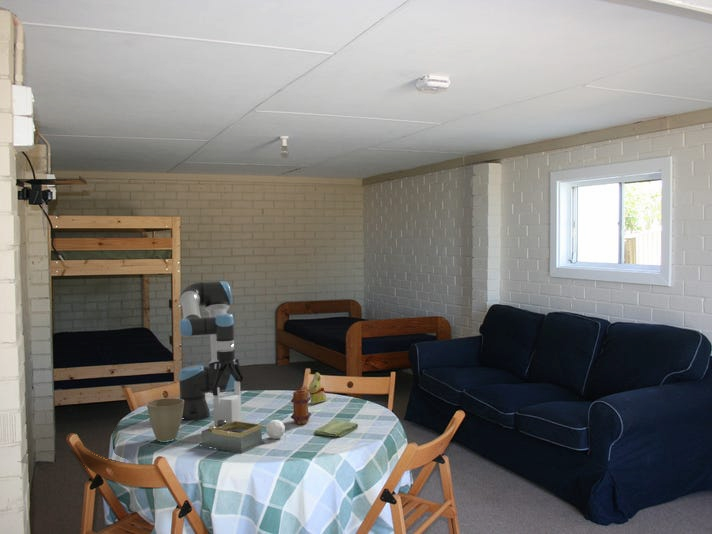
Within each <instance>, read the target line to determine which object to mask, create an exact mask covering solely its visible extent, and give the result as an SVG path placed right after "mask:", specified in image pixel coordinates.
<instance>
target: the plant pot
mask: <svg viewBox="0 0 712 534" xmlns="http://www.w3.org/2000/svg"><path fill="white" fill-rule="evenodd" d="M146 407H147V408H146V409H147V412H148V418H149V421H150V425H151V428H152V431H153V434H154V437H155V440H156V441H157V440H162V441H167V440H172V439H175V438H176V439H177V436H178V433H179V430H180V428H181V427H180V426H181V424H182V423H181V422H182V420H183V419H182V414H183V407H184V400H182V399H180V398H177V397H176V398H174V397H167V398H158V399H153V400H150V401H148V402H146Z"/></svg>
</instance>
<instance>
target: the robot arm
mask: <svg viewBox="0 0 712 534" xmlns="http://www.w3.org/2000/svg"><path fill="white" fill-rule="evenodd" d="M232 296H233V295H232V290H231V287H230V284H229V283H228V282H227V281H220V280H218V281H204V282H203V281H202V282H201V281H200V282H199V281H198V282H194V283H193V282H192V283H191V284H189V285H187V286H186V287H185V288H184V289H182V290H181V293H180V295H179V304H180V306H181V308H182V315H183V317H182V318H181V319H180V320H179V331H180V332H179V333H180V336H182V337H195V336H207V335H208V336H209V338H210V353H211V354H210V355H211V357H210V358H211V361H210V362H209V363H208V367H206V366H205V365H204V364H194V365H189V366H185V367H183V368H181V369H180V370H179V373H178V375H179V377H178V381H179V399H182V400H184V407H183V414H182V418H184V419H194V420H199V418H201V419H205V418H208V417H210V416H211V415H210V414H211V410H210V407H209V405H208V402H207V398H206V393H212V396H213V399H214V403H220V396H221V395H220V394H221V393H220V392H227V391H228V392H229V391H234V395H241V387H242V386H241V384H242V383H241V382H243V380H244V378H245V377H244V374H243V373H244V372H243V370H242V369H241V366H240V361H239V359H238V358H236V351H235V331H234V330H235V325H234V323H235V321H234V314H232V313H228V312H227V311H228V310H229V309H230V305H232V304H233V297H232ZM200 307H204V308H205V309H204V310H205V311H206V312H208V317H202V316H201V312H200V311H201V310H200ZM241 396H242V395H241ZM204 417H205V418H204Z"/></svg>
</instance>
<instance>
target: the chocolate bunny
mask: <svg viewBox="0 0 712 534" xmlns="http://www.w3.org/2000/svg"><path fill="white" fill-rule="evenodd" d="M322 378H323V375H321V374H320V373H319V372H315V373H314V375H313V378H312V380H311V382H310V384H309V385H308V394H309V398H310V404H311V405H315V404H319V403H322V402H326V401H327V396H326V391H325V388H324V387H323V386H322V385H321V381H322Z"/></svg>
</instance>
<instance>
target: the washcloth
mask: <svg viewBox="0 0 712 534" xmlns="http://www.w3.org/2000/svg"><path fill="white" fill-rule="evenodd" d="M358 428H359V424H358V423H356V422H351V421H344V420H340V419H333V420H332V421H331V422H327V423H326V424H325V425H322V426H320V427H318V428H316V429H315V430H314V431H313V434H314V435H317V436H325V437H334V438H342V437H344V436H347V435H349V434H350V433H352V432H354V431H355V430H357V429H358Z"/></svg>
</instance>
